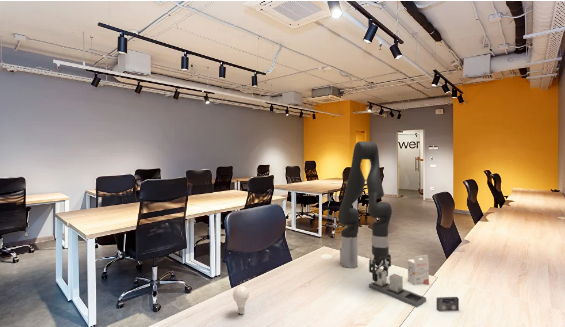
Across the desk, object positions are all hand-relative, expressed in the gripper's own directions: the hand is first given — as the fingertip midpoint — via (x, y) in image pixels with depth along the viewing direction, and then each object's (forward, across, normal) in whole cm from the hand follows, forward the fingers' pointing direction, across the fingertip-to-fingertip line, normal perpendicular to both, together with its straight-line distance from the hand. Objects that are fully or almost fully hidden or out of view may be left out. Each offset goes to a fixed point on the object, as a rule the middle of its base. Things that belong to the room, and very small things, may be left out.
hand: (380, 278), depth 133 cm
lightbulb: (+5, +62, -23) cm, 66 cm away
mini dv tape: (+6, -4, +28) cm, 29 cm away
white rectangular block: (+4, 0, 0) cm, 4 cm away
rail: (+5, 0, +8) cm, 10 cm away
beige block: (+4, 0, +8) cm, 9 cm away
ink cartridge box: (+5, -20, +8) cm, 22 cm away
